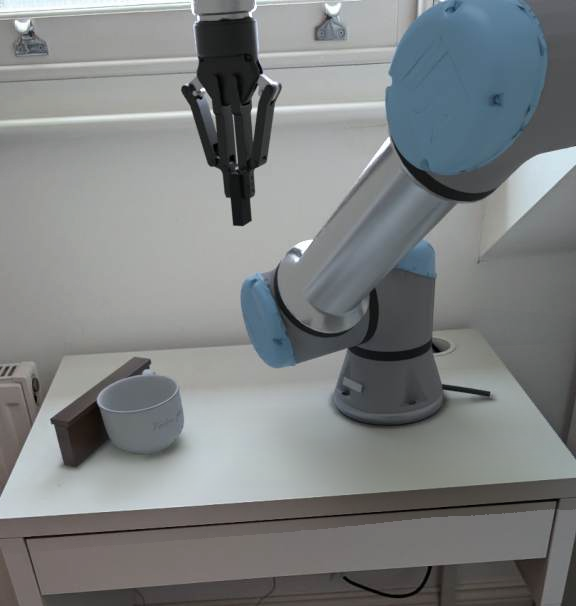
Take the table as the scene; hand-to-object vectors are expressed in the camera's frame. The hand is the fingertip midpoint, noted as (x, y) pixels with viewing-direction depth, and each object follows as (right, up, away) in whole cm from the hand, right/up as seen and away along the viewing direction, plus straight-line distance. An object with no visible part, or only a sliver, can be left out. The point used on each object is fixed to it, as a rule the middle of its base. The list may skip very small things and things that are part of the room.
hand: (242, 223), depth 108 cm
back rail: (-19, -27, +5) cm, 33 cm away
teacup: (-13, -29, +3) cm, 31 cm away
